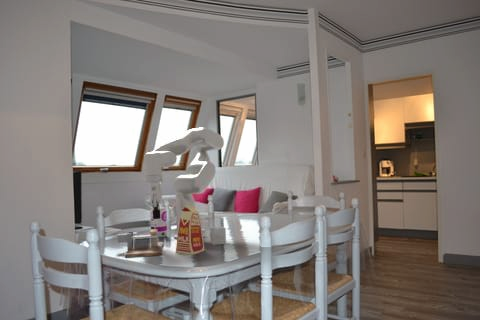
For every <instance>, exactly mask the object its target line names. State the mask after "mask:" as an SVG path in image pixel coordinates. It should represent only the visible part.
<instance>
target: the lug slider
mask: <svg viewBox="0 0 480 320" xmlns="http://www.w3.org/2000/svg"><path fill="white" fill-rule="evenodd" d="M156 234H157V237H156V238H150V243H151V246H158V242H159V240H158V239H159V238H158V231H157V229H153V230H151V229H150V231H149V235H156Z"/></svg>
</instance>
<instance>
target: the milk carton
mask: <svg viewBox="0 0 480 320" xmlns="http://www.w3.org/2000/svg"><path fill="white" fill-rule="evenodd" d="M202 229H203V227H202V221H201V217H200V212H199V211H198V210H197V208H196V205H195V206H189V205H187V204H185V208H184V209H183V210H182V212H181V218H180V223H179V230H178V237H177V239H176V245H175V253H177V254H184V255H191V256H193V255H197V254H199V253H201V252H204V251H205V241H204V235H203V234H204V233H202Z"/></svg>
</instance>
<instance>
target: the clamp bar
mask: <svg viewBox="0 0 480 320" xmlns="http://www.w3.org/2000/svg"><path fill="white" fill-rule="evenodd" d="M156 237H157V234H156V235H151V234H143V235H133V236H132V239H133V240H135V239H140V238H150V239H151V238H156ZM117 243H119V244H120V243H122V244H123V243H127V233H118V234H117Z"/></svg>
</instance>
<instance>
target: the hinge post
mask: <svg viewBox="0 0 480 320" xmlns="http://www.w3.org/2000/svg"><path fill="white" fill-rule="evenodd" d="M126 234H127V242H126V243H127V246H126V247H127V248H126V249H127V250H132V248H133V244H134V239H132V236H134V231H128V233H126Z"/></svg>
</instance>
